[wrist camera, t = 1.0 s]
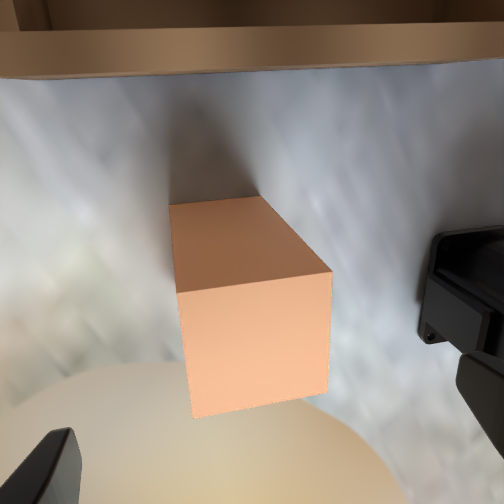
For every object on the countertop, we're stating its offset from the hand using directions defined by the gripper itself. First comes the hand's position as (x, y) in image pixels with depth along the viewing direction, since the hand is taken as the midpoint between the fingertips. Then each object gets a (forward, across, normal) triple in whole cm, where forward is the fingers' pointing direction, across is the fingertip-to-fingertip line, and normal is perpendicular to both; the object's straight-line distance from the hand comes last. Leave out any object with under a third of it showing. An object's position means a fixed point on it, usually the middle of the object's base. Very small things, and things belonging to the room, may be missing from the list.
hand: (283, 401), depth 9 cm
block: (+10, 0, 0) cm, 10 cm away
